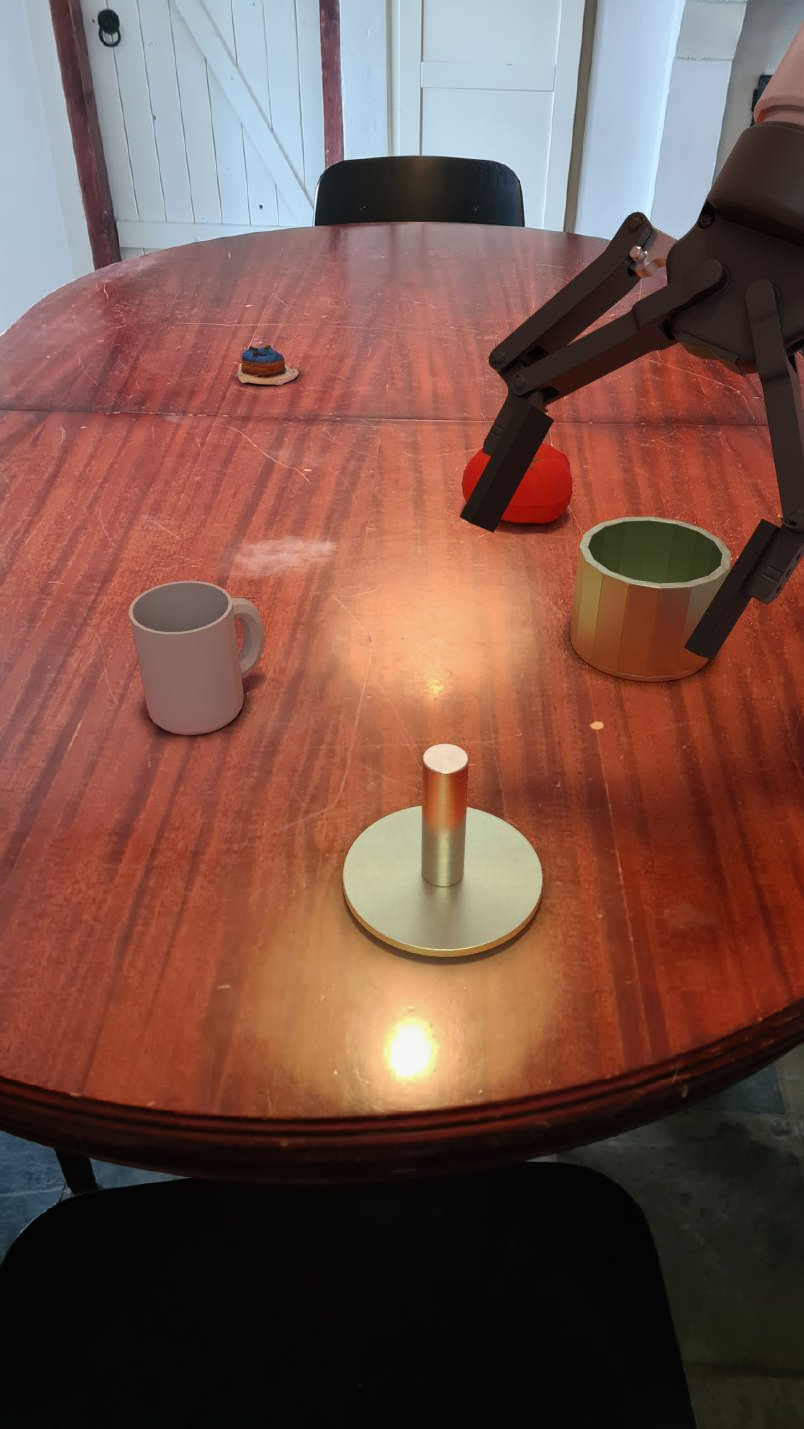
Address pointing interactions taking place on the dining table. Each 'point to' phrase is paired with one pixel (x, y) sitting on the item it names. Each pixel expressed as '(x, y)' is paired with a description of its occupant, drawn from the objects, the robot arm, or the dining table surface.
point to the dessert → (264, 367)
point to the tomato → (531, 486)
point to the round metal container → (644, 596)
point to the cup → (194, 654)
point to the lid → (442, 870)
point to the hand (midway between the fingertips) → (580, 586)
